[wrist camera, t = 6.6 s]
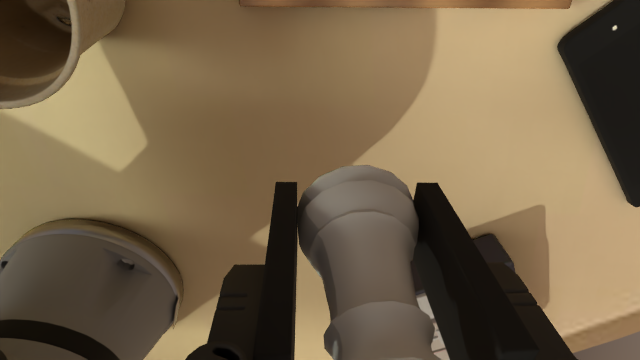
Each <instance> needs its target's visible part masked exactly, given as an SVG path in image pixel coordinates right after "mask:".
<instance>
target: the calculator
mask: <svg viewBox="0 0 640 360" xmlns="http://www.w3.org/2000/svg"><path fill="white" fill-rule="evenodd" d="M473 242H474V243H475V245H476V247H477V248H478V250H479V252H480V253H481V255H482V256H483V258H484V260H485V261H486V262H503V263H504V264H505V265H506V266H508V267H509V268H510V269H511V270H513V271H514V272H515V268H514V263H513V261H512V260H511V258H510V257H509V255H508V254H507V253H506V251H505V250H504V248H503V247H502V245H501V244H500V242H499V241H498V239H497V238H496V237H495V235H493V234H489V235H486V236H483V237H480V238H477V239H474V240H473ZM410 263H411V269H412V276H413V282H414V288H415V294H416V298H417V301H418V304H419V307H420V310H422V311H423V312H425V313H426V314H428V315H429V316H430V318H431V320H432V323H433V325H434V327H435V332H434V337H433V342H432V344H431V348H432V352H433V353H434V354H435V355H436V356H438V357H439V358H440V359H442V360H450V359H449V356H448V353H447V351H446V348H445V345H444V342H443V340H442V337H441V334H440V332H439V329H438V326H437V323H436V321H435V318H434V315H433V313H432V310H431V307H430V304H429V302H428V299H427V296H426V294H425V291H424V288H423V285H422V283H421V280H420V277H419V275H418V272H417V269H416V267H415V264H414V261H413V260H412V261H411V262H410Z"/></svg>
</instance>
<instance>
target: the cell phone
mask: <svg viewBox="0 0 640 360" xmlns="http://www.w3.org/2000/svg"><path fill="white" fill-rule="evenodd" d="M557 48H558V51H559V53H560V55H561V57H562V59H563V61H564V63H565V65H566V67H567V70H568V72H569V74H570V76H571V78H572V81H573V83H574V85H575V87H576V89H577V91H578V94H579V96H580V98H581V100H582V102H583V104H584V107H585V109H586V111H587V113H588V115H589V118H590V120H591V122H592V124H593V126H594V128H595V131H596V133H597V135H598V137H599V139H600V142H601V144H602V146H603V148H604V150H605V152H606V155H607V157H608V159H609V161H610V163H611V166H612V168H613V170H614V172H615V174H616V176H617V179H618V181H619V183H620V185H621V187H622V190H623V192H624V194H625V196H626V199H627V201H628V203H630V204H631V205H633V206H634V207H640V0H614V1H613V2H611V3H610V4H609V5H607V6H606V7H604V8H603V9H602V10H600V11H599V12H597V13H596V14H595V15H593V16H592V17H590V18H589V19H588V20H586V21H585V22H583V23H582V24H581V25H579V26H578V27H576V28H575V29H574V30H572V31H571V32H569V33H568V34H567V35H566V36H564V37H563V38H562V39H561V40H560V42H559V43H558V46H557Z"/></svg>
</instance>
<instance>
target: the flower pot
mask: <svg viewBox="0 0 640 360" xmlns="http://www.w3.org/2000/svg"><path fill="white" fill-rule="evenodd" d="M124 8H125V0H0V109H12V108H19V107H25V106H30V105H32V104H35V103H38V102H41V101H43V100H45V99H47V98H49V97H50V96H52V95H53V94H55V93H56V92H57V91H59V90H60V89H61V88H62V87H63V85H64V84H65V83H66V82H67V81H68V80H69V78H70V77H71V75H72V74H73V72H74V70H75V68H76V66H77V63H78V60H79V58H80V55H81V54H82V53H83V52H85V51H86V50H87V49H88V48H90V47H91V46H92V45H93V44H95V43H96V42H97V41H99V40H100V39H101V38H103V37H104V36H106V35H107V34H109V33H110V32H111V31H112V30H113V29H114V28H115V27H116V26H117V25H118V23H119V21H120V20H121V18H122V15H123V12H124ZM58 16H60V17H63V18H65V19H67V18H69V20H71V22H72V26H70V25H68V24H65V23H63V22H61V21H60V20H59V19H58Z"/></svg>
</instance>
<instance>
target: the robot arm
mask: <svg viewBox="0 0 640 360" xmlns="http://www.w3.org/2000/svg"><path fill="white" fill-rule="evenodd" d="M413 202H414V208H415V210H416V213H417V215H418V218H419V230H418V238H417V244H416V246H415V248H414V255H413V261H414V264H415V267H416V269H417V272H418V275H419V277H420V280H421V283H422V285H423V288H424V291H425V294H426V296H427V299H428V302H429V304H430V307H431V310H432V313H433V315H434V318H435V321H436V323H437V326H438V329H439V332H440V334H441V337H442V340H443V342H444V345H445V348H446V351H447V353H448V356H449V359H450V360H578V359H576V357H575V356H574V355H573V354H572V352H571V351H570V349H569V348H568V347H567V345H566V344H565V342H564V341H563V339H562V338H561V336H560V335H559V334H558V332H557V331H556V329H555V328H554V326H553V325H552V323H551V322H550V321H549V319H548V318H547V316H546V315H545V313H544V312H543V310H542V309H541V308H540V306H538V305H537V302H536V300H535V299H534V297H533V296H532V295H531V293H529V292H528V289H527V287H526V286H525V284H524V283H523V282H522V280H521V279H520V277H519V276H518V275H517V274H516V273H515V272H514V271H513V270H511V269H510V268H509V267H508V266H506V265H505V264H504V263H503V262H486V261H485V260H484V258H483V256H482V255H481V253H480V252H479V250H478V248H477V247H476V245H475V243H474V242H473V240H472V238H471V237H470V235H469V234H468V232H467V230H466V229H465V227H464V225H463V224H462V222H461V221H460V219H459V217H458V216H457V214H456V212H455V211H454V209H453V208H452V206H451V204H450V203H449V201H448V199H447V198H446V196H445V194H444V193H443V191H442V190H441V188H440V186H439V185H438V183H417V186H416V191H415V196H414V201H413ZM296 275H297V182H276V186H275V193H274V201H273V208H272V216H271V223H270V231H269V238H268V246H267V253H266V261H265V265H234V266H233V267H232V269H231V270H230V271H229V272H228V274H227V275H226V276H225V278H224V280H223V284H222V288H221V291H220V297H219V299H218V303H217V307H216V311H215V315H214V318H213V322H212V326H211V330H210V334H209V338H208V341H207V344H205V345H202V346H200V347H199V348H197V349H196V350H195V351H193V352H192V353H191V354H189V355H188V357H187V358H186V359H185V360H294V350H295V312H296ZM182 297H183V284H182V280H181V277H180V274H179V272H178V270H177V268H176V267H175V265H174V264H173V263H172V261H171V260H170V259H169V258H168V257H167V256H166V255H165V254H164V253H163V252H162V251H161V250H160V249H159V248H158V247H156V246H155V245H154V244H152V243H151V242H149V241H148V240H146V239H145V238H143V237H141V236H139V235H137V234H135V233H133V232H131V231H129V230H126V229H123V228H121V227H118V226H115V225H111V224H107V223H103V222H98V221H92V220H82V219H69V220H59V221H53V222H49V223H45V224H42V225H39V226H37V227H35V228H33V229H31V230H30V231H28V232H27V233H26V234H24V235H23V236H22V237H21V238H20V239H19V240H18V241H17V242H16V243H15V244H14V245H13V246H12V247H11V248H10V249H8V250H7V252H6V253H5V254H4V255H3V256H2V258H1V260H0V360H143V359H144V358H145V357H146V355H147V354H148V353H149V352H150V350H151V349H152V348H153V347H154V345H155V344H156V343H157V342H158V340H159V339H160V338H161V336H162V335H163V334H164V333H165V332H166V331H167V330H168V329H169V327H170V326H171V325H172V323H173V322H174V327H175V324H176V321H177V316H178V310H179V307H180V304H181V301H182ZM174 327H173V329H174Z"/></svg>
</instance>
